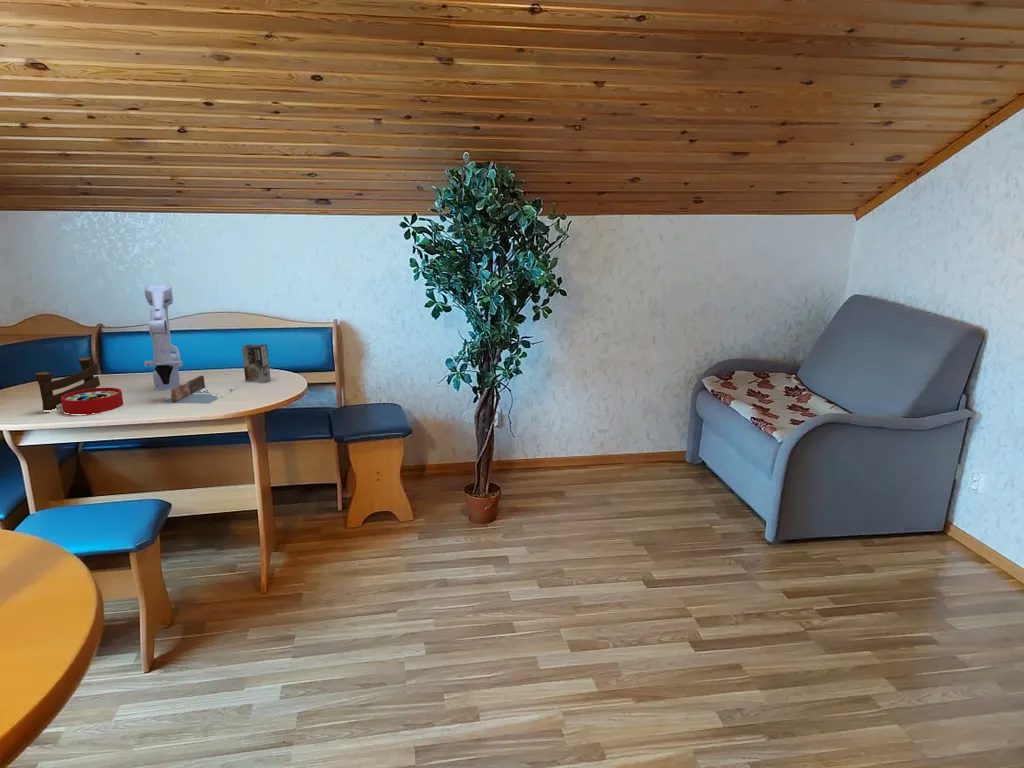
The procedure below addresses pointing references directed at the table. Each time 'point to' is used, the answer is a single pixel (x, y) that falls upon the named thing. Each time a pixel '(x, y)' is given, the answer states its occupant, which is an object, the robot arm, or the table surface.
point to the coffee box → (256, 363)
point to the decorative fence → (67, 383)
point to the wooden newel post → (180, 391)
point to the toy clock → (92, 400)
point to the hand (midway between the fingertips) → (166, 384)
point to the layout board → (197, 398)
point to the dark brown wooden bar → (196, 384)
